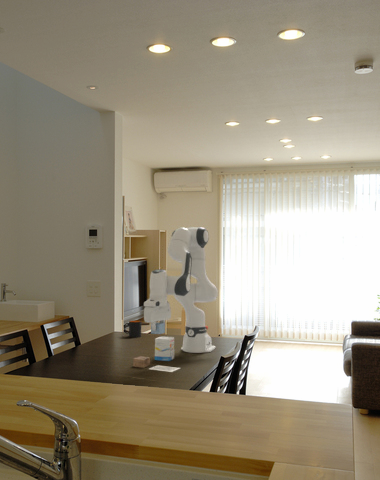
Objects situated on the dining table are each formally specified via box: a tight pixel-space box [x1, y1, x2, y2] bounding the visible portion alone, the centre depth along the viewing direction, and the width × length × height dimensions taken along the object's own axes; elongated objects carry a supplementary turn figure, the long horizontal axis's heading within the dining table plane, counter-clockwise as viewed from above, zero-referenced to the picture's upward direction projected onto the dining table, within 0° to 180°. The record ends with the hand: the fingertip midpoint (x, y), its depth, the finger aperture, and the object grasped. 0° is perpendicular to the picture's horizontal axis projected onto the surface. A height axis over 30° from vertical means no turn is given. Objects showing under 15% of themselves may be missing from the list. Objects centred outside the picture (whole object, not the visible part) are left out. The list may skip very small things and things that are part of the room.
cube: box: [150, 321, 166, 335], centre depth 241 cm, size 5×5×5 cm
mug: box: [123, 319, 142, 338], centre depth 330 cm, size 8×12×10 cm
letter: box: [148, 364, 181, 373], centre depth 233 cm, size 9×13×1 cm
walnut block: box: [132, 355, 151, 368], centre depth 239 cm, size 6×6×4 cm
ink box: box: [154, 336, 175, 362], centre depth 256 cm, size 9×8×12 cm
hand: (158, 329), depth 241 cm, fingers closed on cube, 5 cm apart
